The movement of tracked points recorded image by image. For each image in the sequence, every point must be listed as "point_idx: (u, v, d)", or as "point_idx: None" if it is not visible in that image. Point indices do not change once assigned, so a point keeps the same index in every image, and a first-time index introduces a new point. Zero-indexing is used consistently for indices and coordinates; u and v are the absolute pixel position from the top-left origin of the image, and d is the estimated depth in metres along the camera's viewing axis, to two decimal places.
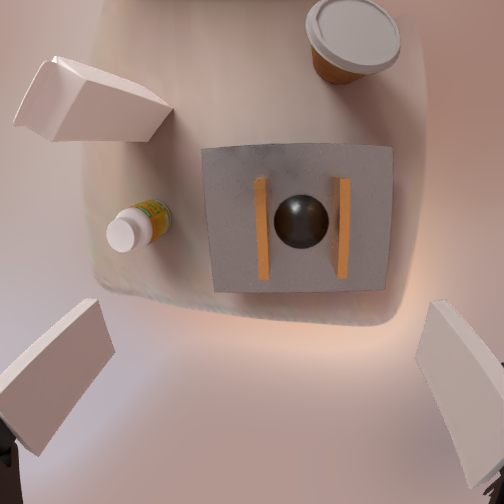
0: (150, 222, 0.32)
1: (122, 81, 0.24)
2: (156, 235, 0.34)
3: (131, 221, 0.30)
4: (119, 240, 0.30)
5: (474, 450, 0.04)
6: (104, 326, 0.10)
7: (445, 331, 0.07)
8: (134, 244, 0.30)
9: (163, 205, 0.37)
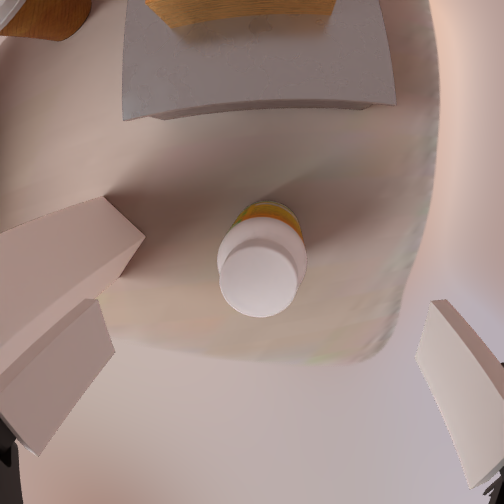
0: (248, 218, 0.16)
1: None
2: (284, 217, 0.18)
3: (230, 252, 0.15)
4: (267, 287, 0.14)
5: (474, 450, 0.04)
6: (104, 326, 0.10)
7: (445, 331, 0.07)
8: (280, 250, 0.14)
9: (242, 211, 0.22)
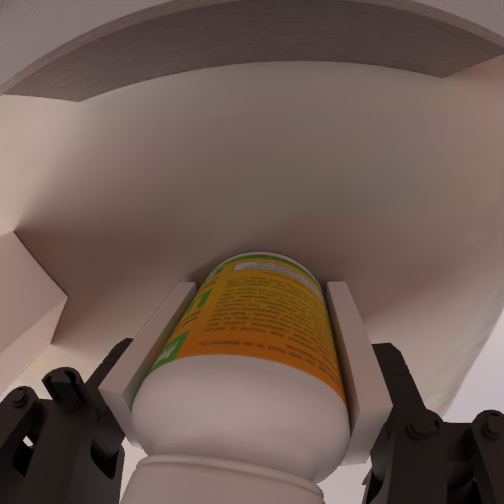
0: (195, 355, 0.05)
1: None
2: (300, 325, 0.07)
3: (136, 472, 0.04)
4: None
5: None
6: None
7: (331, 308, 0.10)
8: None
9: (211, 273, 0.11)
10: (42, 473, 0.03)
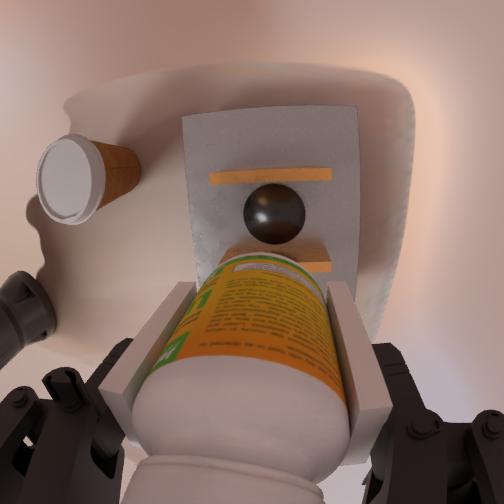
0: (195, 355, 0.05)
1: None
2: (300, 326, 0.07)
3: (137, 473, 0.04)
4: None
5: None
6: None
7: (331, 308, 0.10)
8: None
9: (211, 274, 0.11)
10: (42, 473, 0.03)
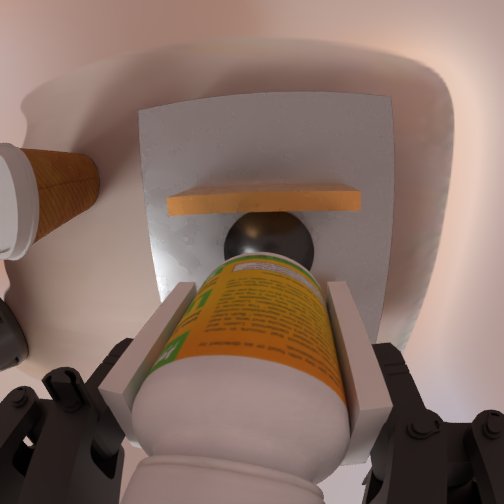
0: (195, 355, 0.05)
1: None
2: (300, 325, 0.07)
3: (137, 473, 0.04)
4: None
5: None
6: None
7: (331, 308, 0.10)
8: None
9: (211, 274, 0.11)
10: (42, 473, 0.03)
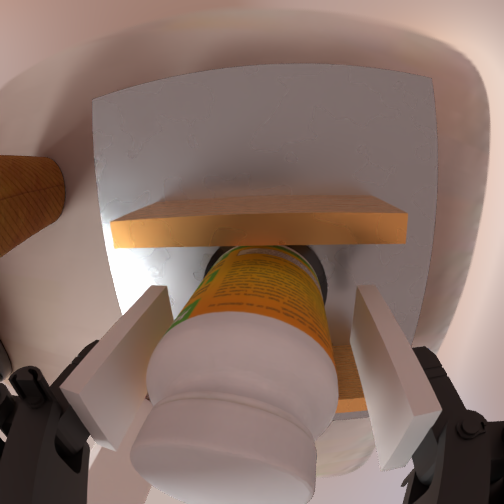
0: (205, 312, 0.07)
1: (91, 454, 0.19)
2: (294, 295, 0.08)
3: (150, 413, 0.05)
4: (241, 496, 0.04)
5: (382, 429, 0.06)
6: (170, 312, 0.12)
7: (364, 313, 0.09)
8: (273, 448, 0.04)
9: (218, 260, 0.12)
10: (12, 465, 0.03)
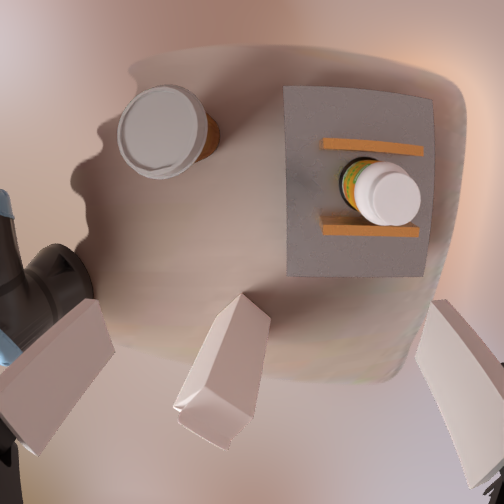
0: (377, 162, 0.21)
1: (208, 342, 0.33)
2: None
3: (377, 178, 0.19)
4: (403, 202, 0.18)
5: (474, 450, 0.04)
6: (104, 326, 0.10)
7: (445, 331, 0.07)
8: (410, 178, 0.18)
9: (351, 165, 0.26)
10: None
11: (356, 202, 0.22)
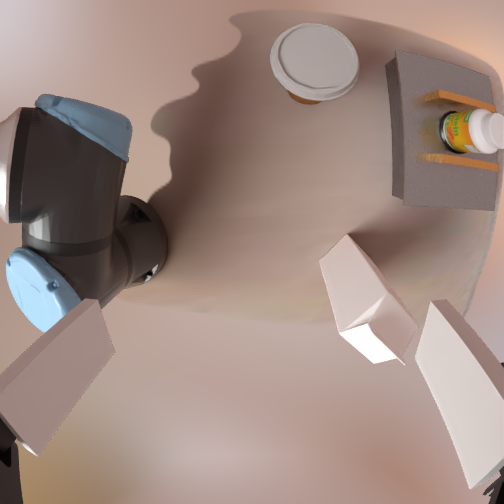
0: None
1: (338, 275, 0.33)
2: None
3: (486, 116, 0.19)
4: (503, 132, 0.18)
5: (474, 450, 0.04)
6: (104, 326, 0.10)
7: (445, 331, 0.07)
8: None
9: (449, 115, 0.26)
10: None
11: (471, 134, 0.21)
